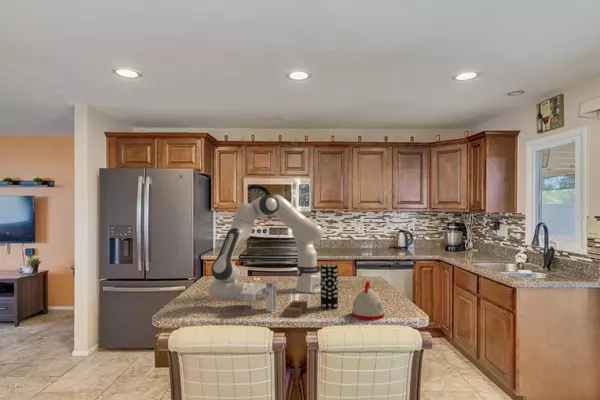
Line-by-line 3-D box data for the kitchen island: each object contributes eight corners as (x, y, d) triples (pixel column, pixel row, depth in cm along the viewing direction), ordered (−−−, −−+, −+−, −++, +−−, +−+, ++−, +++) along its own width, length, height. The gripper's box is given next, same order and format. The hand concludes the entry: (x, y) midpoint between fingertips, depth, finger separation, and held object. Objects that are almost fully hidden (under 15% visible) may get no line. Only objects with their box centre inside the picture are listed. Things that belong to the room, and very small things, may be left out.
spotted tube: (320, 304, 178) (320, 264, 179) (337, 304, 178) (337, 264, 179) (321, 309, 170) (320, 266, 171) (338, 309, 170) (338, 267, 170)
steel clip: (270, 308, 173) (270, 280, 173) (276, 308, 172) (276, 281, 173) (266, 311, 167) (266, 283, 167) (272, 312, 166) (272, 283, 166)
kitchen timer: (349, 318, 157) (348, 283, 157) (355, 309, 170) (355, 277, 170) (381, 321, 152) (381, 286, 152) (385, 312, 165) (385, 279, 165)
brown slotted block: (293, 306, 176) (292, 300, 176) (307, 307, 174) (307, 301, 174) (284, 316, 160) (284, 309, 160) (299, 317, 158) (299, 310, 158)
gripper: (233, 290, 163) (262, 291, 160) (249, 280, 183) (276, 282, 180) (233, 304, 163) (263, 305, 160) (249, 293, 183) (276, 294, 180)
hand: (270, 293), depth 170 cm, fingers open, 8 cm apart
